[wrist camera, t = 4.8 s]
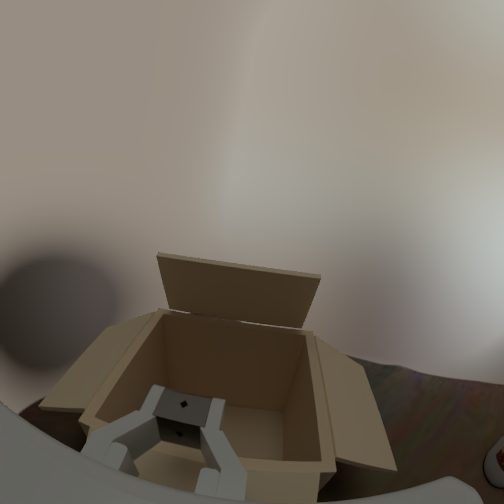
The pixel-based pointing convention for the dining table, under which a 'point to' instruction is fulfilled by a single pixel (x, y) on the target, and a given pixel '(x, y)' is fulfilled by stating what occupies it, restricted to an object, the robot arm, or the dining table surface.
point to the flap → (237, 290)
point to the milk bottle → (495, 464)
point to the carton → (234, 400)
